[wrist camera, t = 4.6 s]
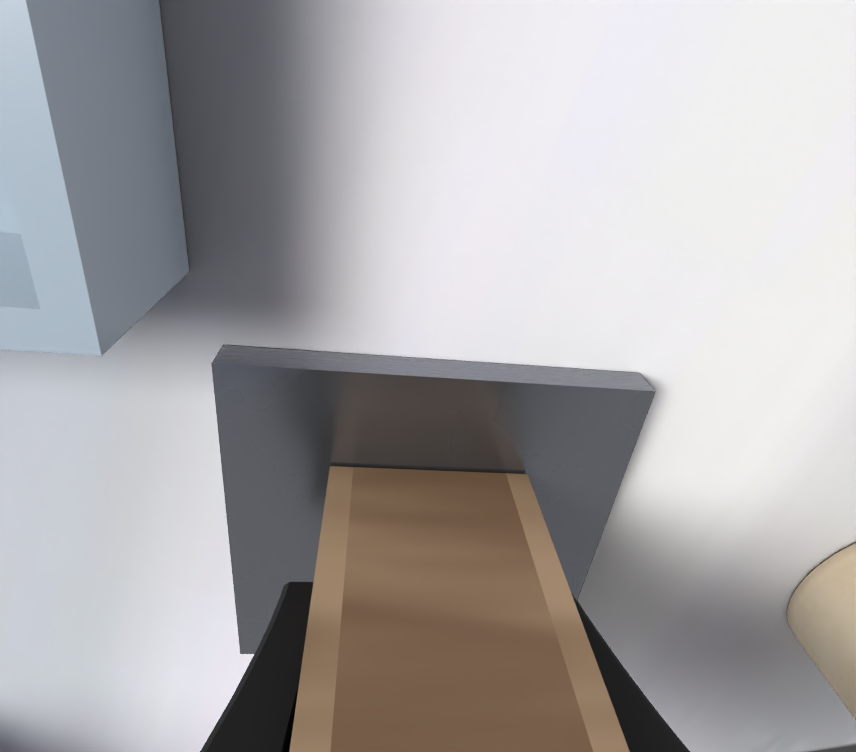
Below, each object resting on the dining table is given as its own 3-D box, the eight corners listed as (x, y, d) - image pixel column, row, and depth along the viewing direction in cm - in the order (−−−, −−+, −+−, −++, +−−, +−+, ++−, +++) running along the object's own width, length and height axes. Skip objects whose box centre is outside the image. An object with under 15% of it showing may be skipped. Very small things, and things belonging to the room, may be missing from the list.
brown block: (494, 603, 14) (604, 1128, 7) (326, 601, 13) (262, 1166, 6) (527, 474, 12) (736, 1043, 5) (330, 465, 11) (241, 1091, 4)
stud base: (549, 628, 16) (585, 748, 13) (247, 626, 15) (214, 756, 12) (639, 372, 12) (722, 467, 9) (223, 345, 11) (162, 441, 8)
